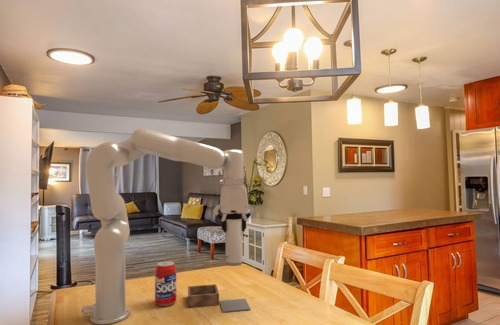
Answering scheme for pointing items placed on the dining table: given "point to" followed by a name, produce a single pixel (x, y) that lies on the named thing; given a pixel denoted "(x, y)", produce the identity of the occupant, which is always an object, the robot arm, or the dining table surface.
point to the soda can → (165, 283)
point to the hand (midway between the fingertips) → (233, 230)
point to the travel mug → (234, 239)
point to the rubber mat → (234, 305)
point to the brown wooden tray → (203, 295)
